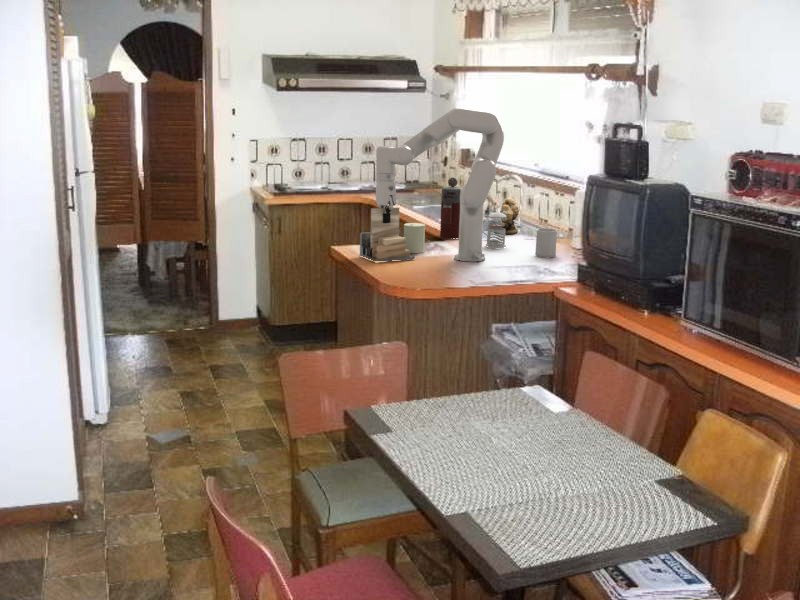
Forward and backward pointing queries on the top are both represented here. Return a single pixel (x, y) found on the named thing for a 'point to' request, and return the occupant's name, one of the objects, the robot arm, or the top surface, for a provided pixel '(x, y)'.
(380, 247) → the offcut middle
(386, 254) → the offcut bottom
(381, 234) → the birch panel
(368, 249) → the steel rack
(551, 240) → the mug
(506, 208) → the tan bust sculpture
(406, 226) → the can
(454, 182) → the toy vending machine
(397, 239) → the offcut top
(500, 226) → the french press
